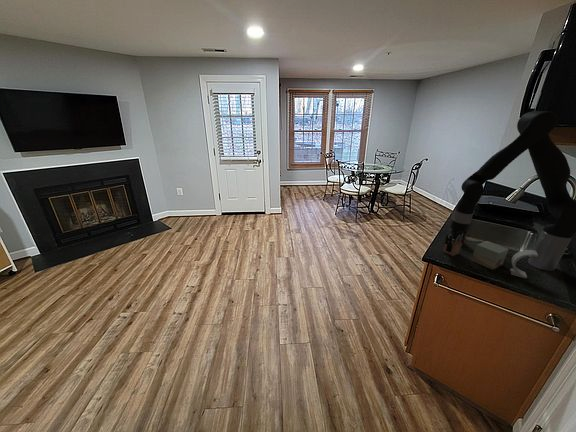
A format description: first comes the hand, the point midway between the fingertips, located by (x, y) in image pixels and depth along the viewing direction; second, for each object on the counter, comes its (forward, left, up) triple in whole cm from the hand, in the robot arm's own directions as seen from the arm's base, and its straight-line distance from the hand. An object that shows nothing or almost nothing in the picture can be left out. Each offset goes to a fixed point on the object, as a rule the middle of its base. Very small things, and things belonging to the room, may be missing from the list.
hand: (451, 250), depth 121 cm
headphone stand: (-9, +24, -2) cm, 26 cm away
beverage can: (-16, -6, -2) cm, 17 cm away
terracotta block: (0, 0, -1) cm, 1 cm away
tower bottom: (-7, +13, -2) cm, 15 cm away
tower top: (-7, +13, +3) cm, 15 cm away
